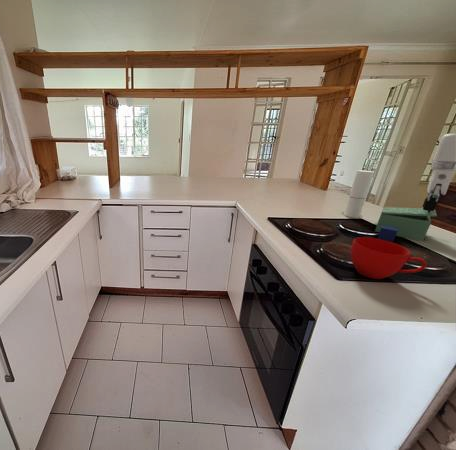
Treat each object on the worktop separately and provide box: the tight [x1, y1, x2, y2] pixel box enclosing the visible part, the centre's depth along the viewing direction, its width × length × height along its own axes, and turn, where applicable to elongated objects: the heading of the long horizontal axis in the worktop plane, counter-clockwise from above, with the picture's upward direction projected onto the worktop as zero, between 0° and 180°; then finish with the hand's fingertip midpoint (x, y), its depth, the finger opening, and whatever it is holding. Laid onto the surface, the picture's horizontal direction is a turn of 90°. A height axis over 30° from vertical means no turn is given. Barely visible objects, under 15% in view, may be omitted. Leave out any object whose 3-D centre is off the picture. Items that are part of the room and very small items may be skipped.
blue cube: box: [377, 225, 398, 243], centre depth 102 cm, size 5×5×5 cm
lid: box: [380, 206, 438, 217], centre depth 105 cm, size 16×13×5 cm
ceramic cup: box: [350, 236, 428, 280], centre depth 73 cm, size 13×17×10 cm
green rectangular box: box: [374, 214, 432, 242], centre depth 108 cm, size 16×13×9 cm
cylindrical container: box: [343, 169, 375, 219], centre depth 129 cm, size 7×7×25 cm
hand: (428, 208), depth 101 cm, fingers closed on lid, 5 cm apart
